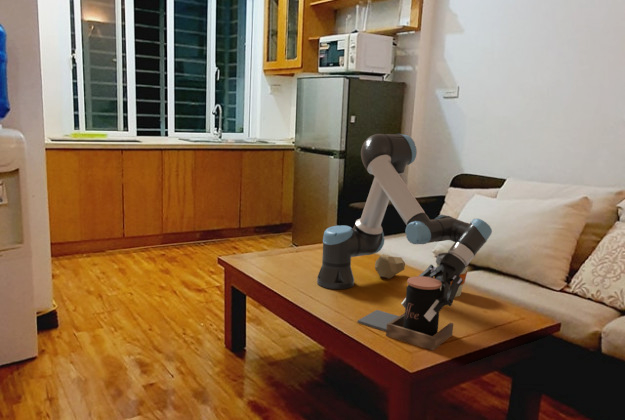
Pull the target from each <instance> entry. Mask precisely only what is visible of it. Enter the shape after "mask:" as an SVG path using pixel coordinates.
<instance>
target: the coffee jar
mask: <svg viewBox="0 0 625 420" xmlns="http://www.w3.org/2000/svg"><path fill="white" fill-rule="evenodd" d="M406 282H407V286H406V291H405V292H406V293H405V294H406V295H405V298H406V304H405V308H404V313H405V317H404V327H403V328H407V329H410V330H413V331H417V332H420V333H423V334H427V335H430V336H433V335H435V334H436V333H437V332H439V321H440V311H439V312H438V313H436V314H435V316H434V317H433V318H432V319H431V321H428V320H427V319H426V318H425V317H424V315H425V314H426V312H427V311H428V310H429V309H430V307H431V306H432V305H433V304H434V302H435V301H436V300H438V298H440V293H441V290H440V287H441V285H442V283H441V281H439V280H437V279H435V278H431V277H424V276H419V275H417V276H411V277H408V279H407V281H406ZM438 301H439V300H438Z"/></svg>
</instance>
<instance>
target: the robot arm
mask: <svg viewBox="0 0 625 420" xmlns="http://www.w3.org/2000/svg"><path fill="white" fill-rule="evenodd" d="M417 151H418V150H417V146H416V143H415V141H414V139H413V137H411V136H410V135H408V134H401V133H395V134H394V133H392V134H391V133H386V134H385V133H375V134H373V135H370V136H368V137H367V138H366V140H364V142H363V144H362V146H361V149H360V157H361V161H362V165H363V166H364V168H365V170H366V171H367V173H369V175H373V180H372V184H371V186H370V189H369V193H368V194H367V195H368V196H367V198H366V202H365V205H364V207H363V210H362V214H361V217H360V218H358V219H356V220H355V223H354V226H353V228H352V227H351V226H349V225H343V224H342V225H333V226H329V227H328V228H326V229H325V230H324V232H323V237H322V257H321V258H322V263H321V266H320V267H321V268H320V269H319V271H318V275H317V279H316V283H317V285H318V286H320V287H322V288H325V289H330V290H346V289H351V288H352V287H354V285H355V278H354V274H353V270H352V267H351V265H352V258H354V257H355V258H356V257H362V256H371V255H373V254H376V253H378V252H380V251H381V250H382V248H383V247H384V245H385V238H384V237H385V234H384V231H383V227H382V223H383V220H384V217H385V214H386V211H387V207H388V205H389V203H391V204H392V206H393V207H394V208H395V210H396V211H397V213H398V215H399V216H400V218H401V219H402V221H403V223H404V224H405V225H406V227H405V230H404V231H405V235H406V239H407V241H408V242H409V243H410V244H412V245H427V244H430V243H436V242H437V243H438V242H439V243H440V242H444V241H451V242H454V243H453V244H452V246H451V247H449V250H447V252H446V253H447V254H445V256H444V257H443V258H442V259H441V261H440V265H439V266H438V267H437V266H434V265H433V264H429V266H428V267H427V268H426V269H425V270H424V271H423V272H421V273H420V274H419V275H418V276H424V277H431V278H435V279H437V280H439V281H441V283H442V287H441V293H440V298H438V300H439V301H438V300H436V301H435V302H434V304H433V305H432V306H431V307H430V309H429V310H428V311H427V312H426V314H425V315H424V317H425V318H426V319H427V320H428V321H431V319H432V318H433V317H434V316H435V314H436V313H438V312H439V313H440V312H441V310H442V308H443V307H445V306H449V307H451V306H452V305H453V303H454V300H455V298H456V297H455V295H456V293H457V291H458V288H459V286H460V285H461V283H462V282H463V280H462V279H461V277H460V276H459V275H460V274H461V273H462V272H463V270H464V269H465V266H467V265H468V266H469V264H470V262H471V261H472V260H473V258H474V257H475V256H476V254H477V253H478V252H479V251H480V250H481V248H483V246H484V245H485V244H486V243H487V241H488V239H489V238H490V237H491V235H492V233H493V229H492V228H491V225H489V223H487V222H486V221H485V220H483V219H481V218H473V219H472V221H470V223H469V222H466V221H462V220H460V219H457V218H454V217H453V216H450V215H445V214H439V215H437V216H436V217H435V218H433V219H430V218H429V216H428V215H427V214H426V212H425V210H424V209H423V208H422V206H421V205H420V203H419V202H418V200H417V199H416V197H415V196H414V195H413V193H412V191H411V190H410V189H409V187H408V186H407V184H406V182H405V181H404V180H403V179H402V177H401V176H400V175H403V174H404V173H405V170H406V167H407V166H408V165H410V164H413V163H414V162H415V160H416V157H417V154H418V153H417ZM468 266H467V267H468ZM451 281H452V284H451ZM450 285H451V286H450ZM400 304H401V305H402V306H403V308H404V309H405V304H406V297H405V298H404V299H403V301H402V302H401V303H400Z"/></svg>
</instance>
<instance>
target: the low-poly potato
mask: <svg viewBox="0 0 625 420" xmlns="http://www.w3.org/2000/svg"><path fill="white" fill-rule="evenodd" d="M405 267H406V263H405V261H404V259H403V258H402V257H399V256H398V257H397V256H391V255H388V254H382V255H380V256H379V257H378V258H377V259H376V260H375V262H374V269H375V271H376V273H377V275H378V276H379V277H380V278H384V279H388V280H389V279H391V278H393V277H394V276H396V275H397V274H399V273H401V272H402V271H404V270H405Z"/></svg>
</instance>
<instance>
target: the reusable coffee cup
mask: <svg viewBox="0 0 625 420" xmlns="http://www.w3.org/2000/svg"><path fill="white" fill-rule="evenodd" d="M447 253H448V252H439V253H437V254H436V259H435V263H436V267H438V266H439V265H440V261H441V259H442V258H443V257H444V256H445V254H447ZM468 267H469V264H468V265H467V266H465V269H464V270H463V272H462V273H461V274H460V275H459V276H460V277H461V279H462V280H463V282H462V283H461V285H460V286H459V288H458V291H457V293H456V295H455V298H457V297H460V296H461V295H462V290H463V287H464V284H465V282H466V279H467V275H468V271H467V269H468ZM451 284H452V281H451ZM450 286H451V285H450ZM441 287H442V285H441ZM441 287H440V290H441Z"/></svg>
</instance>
